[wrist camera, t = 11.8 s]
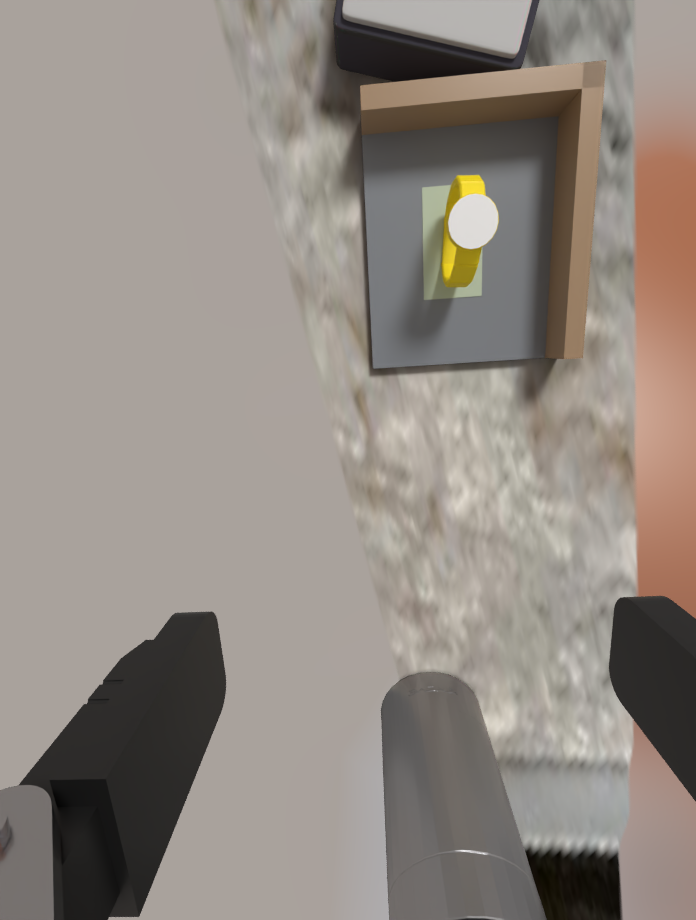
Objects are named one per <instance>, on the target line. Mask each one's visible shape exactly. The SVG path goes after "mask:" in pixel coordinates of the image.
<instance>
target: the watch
mask: <svg viewBox="0 0 696 920" xmlns="http://www.w3.org/2000/svg"><path fill="white" fill-rule="evenodd" d="M498 223H499V215H498V210H497V208H496V205H495V203H494V202H493V201H492V200H491V199H490V198H489V197H487V196H486V194H485V184H484V182H483V180H482V179H481V177H480V176H479V175H458V176H456V178H455V179H454V181H453V182H452V184H451V187H450V191H449V195H448V199H447V204H446V211H445V217H444V231H443V250H442V263H441V268H442V278H443V282H444V284H445V286H446V287H467V286H468V285H469V284H470V283H471V282H472V281H473V279H474V276H475V273H476V270H477V268H478V263H479V260H480V255H481V250H482V247H483V246H485V245H486V244H487V243H488V242H489V241H490V240H491V239H492V238H493V236H494V234H495V233H496V231H497V227H498Z"/></svg>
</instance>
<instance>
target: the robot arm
mask: <svg viewBox="0 0 696 920" xmlns="http://www.w3.org/2000/svg"><path fill="white" fill-rule="evenodd" d="M609 672H610V678H611V682H612V685H613V688H614V691H615V693H616V695H617V697H618V699H619V700H620V702H621V703H622V705H623V706H624V707H625V709H626V710H627V711H628V713H629V714H630V715H631V717H632V718H633V719H634V721H635V722H636V723H637V725H638V726H639V727H640V728H641V730H642V731H643V732H644V734H645V735H646V736H647V738H648V739H649V740H650V742H651V743H652V744H653V746H654V747H655V748H656V749H657V751H658V752H659V754H660V755H661V756H662V758H663V759H664V760H665V762H666V763H667V764H668V765H669V767H670V768H671V770H672V771H673V772H674V774H675V775H676V776H677V777H678V779H679V780H680V781H681V783H682V784H683V785H684V787H685V788H686V789H687V791H688V792H689V793H690V795H691V796H692V797H693V799H694V800H695V801H696V619H695V618H694V617H692V616H691V615H690V614H689V613H687V612H686V611H685V610H684V609H682V608H681V607H680V606H678V605H677V604H676V603H674V602H673V601H672V600H670V599H669V598H667V597H664V596H647V597H623V598H620V599H618V600H617V602H616V604H615V608H614V617H613V628H612V639H611V650H610V661H609ZM225 692H226V675H225V668H224V661H223V655H222V648H221V642H220V635H219V628H218V622H217V618H216V616H215V614H214V613H213V612H188V613H175V614H174V615H172V616H171V618H170V619H169V620H168V622H167V623H166V624H165V625H164V627H163V628H162V630H161V631H160V632H159V634H158V635H157V636H156V638H155V639H154V640H145V641H144V642H143V643H141V644H140V645H139V646H137V647H136V648H134V649H133V650H132V651H130V652H129V653H128V654H127V655H125V656H124V657H123V658H121V659H120V661H119V662H118V663H117V664H116V666H115V667H114V668H113V669H112V670H111V672H110V673H109V674H108V675H107V676H106V678H105V679H104V680H103V685H99V686H98V688H97V689H96V690H95V691H94V693H93V694H92V695H91V696H90V697H89V699H88V703H87V704H84V705H83V706H82V707H81V709H80V710H79V711H78V712H77V714H76V715H75V716H74V717H73V719H72V720H71V721H70V722H69V724H68V725H67V726H66V727H65V729H64V730H63V731H62V732H61V733H60V735H59V736H58V737H57V738H56V740H55V741H54V742H53V743H52V745H51V746H50V747H49V748H48V750H47V751H46V752H45V753H44V754H43V756H42V757H41V758H40V759H39V761H38V762H37V763H36V764H35V766H34V767H33V768H32V769H31V770H30V772H29V773H28V774H27V775H26V777H25V778H24V779H23V780H22V782H21V783H20V784H19V785H18V786H14V787H9V788H6V789H3V790H0V920H108V918H109V917H139V916H140V913H141V911H142V908H143V906H144V903H145V901H146V898H147V896H148V893H149V891H150V888H151V886H152V883H153V881H154V878H155V876H156V873H157V871H158V868H159V866H160V863H161V861H162V858H163V856H164V853H165V851H166V848H167V846H168V843H169V841H170V838H171V836H172V833H173V831H174V828H175V826H176V823H177V821H178V818H179V816H180V813H181V811H182V808H183V806H184V803H185V801H186V799H187V796H188V794H189V791H190V788H191V786H192V784H193V781H194V779H195V776H196V773H197V771H198V768H199V766H200V764H201V761H202V758H203V756H204V754H205V751H206V748H207V746H208V744H209V741H210V738H211V736H212V734H213V731H214V729H215V726H216V723H217V721H218V718H219V716H220V714H221V711H222V708H223V704H224V699H225ZM381 720H382V747H383V749H382V750H383V751H382V752H383V777H384V802H385V803H384V804H385V829H386V853H387V854H386V855H387V879H388V903H389V920H546V917H545V914H544V910H543V907H542V904H541V901H540V898H539V895H538V892H537V889H536V886H535V882H534V879H533V876H532V873H531V870H530V866H529V863H528V860H527V857H526V854H525V850H524V847H523V844H522V841H521V838H520V834H519V831H518V828H517V825H516V822H515V818H514V815H513V812H512V809H511V806H510V802H509V799H508V796H507V793H506V790H505V786H504V783H503V780H502V777H501V774H500V770H499V767H498V764H497V761H496V758H495V754H494V751H493V748H492V745H491V741H490V738H489V735H488V731H487V728H486V725H485V722H484V719H483V715H482V712H481V709H480V706H479V703H478V700H477V698H476V696H475V694H474V692H473V691H472V690H471V689H470V688H469V686H468V685H466V684H465V683H464V682H462V681H461V680H459V679H457V678H455V677H453V676H451V675H447V674H443V673H436V672H426V673H418V674H415V675H411V676H408V677H406V678H404V679H402V680H400V681H399V682H398V683H396V684H395V685H394V686H393V687H392V688H391V689H390V690H389V691H388V693H387V694H386V696H385V698H384V700H383V703H382V708H381Z"/></svg>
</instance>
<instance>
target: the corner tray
mask: <svg viewBox="0 0 696 920" xmlns="http://www.w3.org/2000/svg"><path fill="white" fill-rule="evenodd" d="M605 70H606V60H604V61H594V62H585V63H575V64H565V65H555V66H546V67H536V68H526V69H516V70H506V71H497V72H487V73H477V74H467V75H458V76H448V77H438V78H428V79H419V80H409V81H399V82H389V83H379V84H370V85H360V102H361V130H362V151H363V172H364V193H365V214H366V234H367V255H368V276H369V297H370V317H371V338H372V359H373V369H375V368H391V367H406V366H422V365H438V364H454V363H469V362H485V361H501V360H516V359H532V358H556V359H573V358H583V349H584V336H585V323H586V311H587V298H588V286H589V273H590V260H591V248H592V235H593V222H594V210H595V197H596V184H597V172H598V159H599V146H600V134H601V121H602V108H603V96H604V83H605ZM458 175H479V176H480V177H481V179H482V180H483V182H484V184H485V194H486V196H487V197H489V198H490V199H491V200H492V201H493V202H494V203H495V205H496V208H497V210H498V215H499V223H498V227H497V231H496V233H495V234H494V236H493V238H492V239H491V240H490V241H489V242H488V243H487V244H486V245H485V246H483V247H482V250H481V255H480V260H479V263H478V268H477V270H476V273H475V276H474V279H473V281H472V282H471V283H470V284H469V285H468V286H467V287H446V286H445V284H444V282H443V278H442V268H441V263H442V250H443V231H444V217H445V211H446V204H447V199H448V195H449V191H450V187H451V184H452V182H453V181H454V179H455V178H456V176H458Z"/></svg>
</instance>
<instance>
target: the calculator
mask: <svg viewBox="0 0 696 920" xmlns="http://www.w3.org/2000/svg"><path fill="white" fill-rule="evenodd" d="M538 3H539V0H337V2H336V8H335V13H334V35H335V47H336V58H337V64H338V66H339V67H340V68H341V69H344V70H348V71H352V72H356V73H360V74H365V75H369V76H373V77H377V78H382V79H386V80H390V81H394V82H399V81H409V80H419V79H428V78H438V77H448V76H458V75H467V74H477V73H487V72H497V71H506V70H516V69H520V68H521V66H522V64H523V61H524V57H525V53H526V49H527V45H528V42H529V38H530V34H531V30H532V26H533V23H534V19H535V15H536V11H537V7H538Z"/></svg>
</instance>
